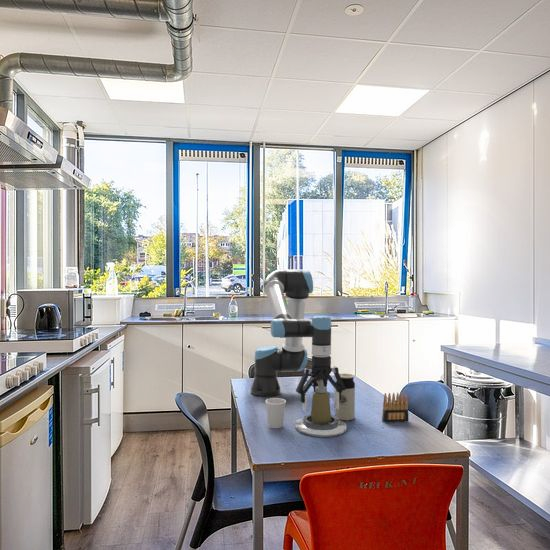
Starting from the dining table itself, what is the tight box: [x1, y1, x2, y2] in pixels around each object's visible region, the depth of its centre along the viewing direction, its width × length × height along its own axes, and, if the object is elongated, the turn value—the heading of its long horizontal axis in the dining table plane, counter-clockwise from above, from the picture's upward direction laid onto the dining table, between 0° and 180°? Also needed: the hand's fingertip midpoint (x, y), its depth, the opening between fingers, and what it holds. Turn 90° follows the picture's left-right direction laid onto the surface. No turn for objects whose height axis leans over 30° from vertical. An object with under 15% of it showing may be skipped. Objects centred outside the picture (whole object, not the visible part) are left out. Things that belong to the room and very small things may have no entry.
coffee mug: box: [306, 373, 329, 393], centre depth 229 cm, size 12×9×10 cm
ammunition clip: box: [381, 392, 410, 423], centre depth 181 cm, size 11×2×12 cm, turn 97°
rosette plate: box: [294, 413, 347, 438], centre depth 172 cm, size 20×20×4 cm
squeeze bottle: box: [310, 379, 332, 424], centre depth 172 cm, size 8×8×18 cm
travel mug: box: [335, 372, 356, 421], centre depth 185 cm, size 8×8×18 cm
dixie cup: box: [265, 397, 287, 429], centre depth 174 cm, size 8×8×10 cm
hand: (320, 409), depth 172 cm, fingers open, 13 cm apart
